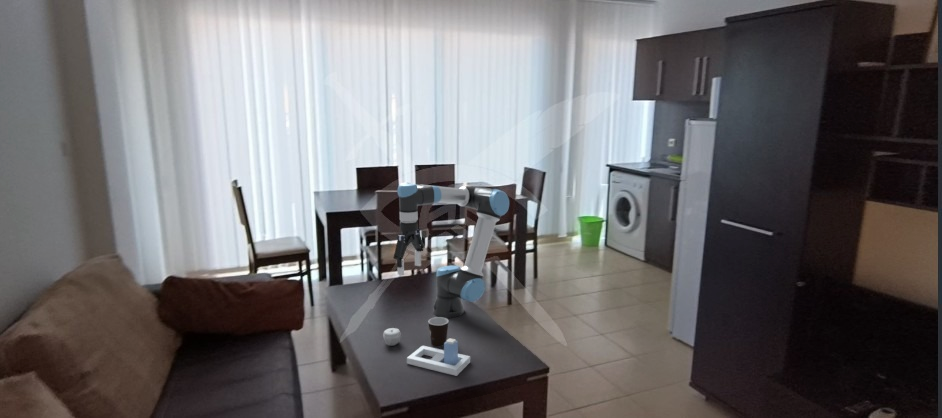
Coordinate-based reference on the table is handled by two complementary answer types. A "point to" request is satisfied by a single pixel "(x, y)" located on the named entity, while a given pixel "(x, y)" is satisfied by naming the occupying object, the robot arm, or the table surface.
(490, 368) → the table surface
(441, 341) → the coffee mug
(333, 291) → the table surface
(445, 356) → the plug
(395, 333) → the apple
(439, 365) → the panel
